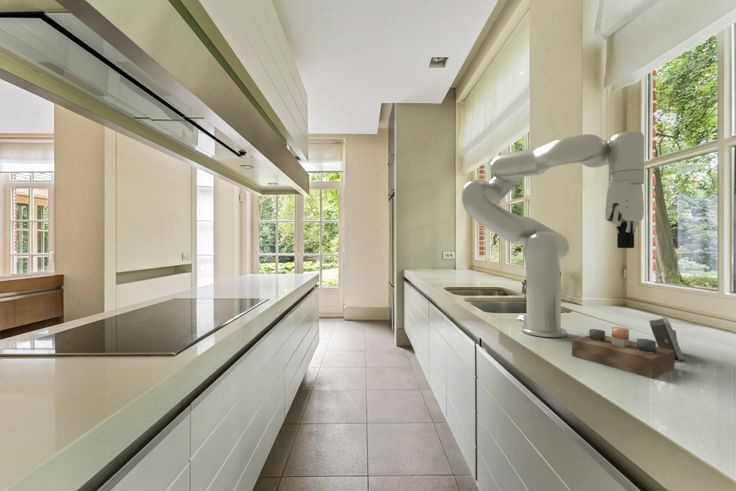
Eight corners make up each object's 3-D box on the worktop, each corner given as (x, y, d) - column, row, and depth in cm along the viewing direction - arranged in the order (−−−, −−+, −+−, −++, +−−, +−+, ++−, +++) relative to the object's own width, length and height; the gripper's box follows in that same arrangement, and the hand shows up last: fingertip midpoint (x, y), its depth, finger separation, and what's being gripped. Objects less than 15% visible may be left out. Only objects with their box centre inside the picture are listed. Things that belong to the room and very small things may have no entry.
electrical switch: (684, 362, 77) (678, 322, 78) (655, 359, 81) (649, 321, 81) (679, 352, 85) (674, 315, 85) (653, 350, 88) (648, 315, 89)
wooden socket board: (571, 355, 82) (571, 339, 82) (596, 348, 87) (596, 333, 87) (651, 378, 68) (651, 358, 68) (674, 368, 73) (674, 350, 73)
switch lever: (586, 353, 83) (586, 330, 83) (593, 351, 84) (593, 328, 84) (600, 357, 80) (600, 333, 80) (607, 354, 81) (607, 331, 81)
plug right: (634, 365, 74) (634, 339, 74) (641, 363, 75) (640, 337, 75) (651, 370, 71) (651, 343, 71) (658, 367, 73) (658, 341, 73)
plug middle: (609, 352, 78) (608, 327, 78) (616, 350, 80) (615, 326, 80) (624, 356, 75) (624, 330, 75) (631, 354, 77) (631, 329, 77)
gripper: (624, 184, 96) (624, 247, 96) (594, 179, 89) (594, 248, 89) (656, 179, 89) (656, 248, 89) (627, 174, 82) (626, 248, 82)
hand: (625, 247), depth 89 cm, fingers closed
